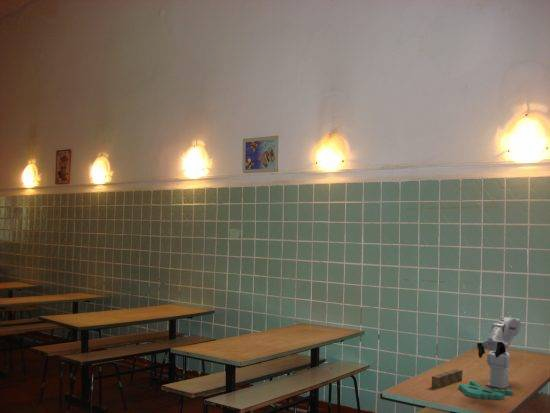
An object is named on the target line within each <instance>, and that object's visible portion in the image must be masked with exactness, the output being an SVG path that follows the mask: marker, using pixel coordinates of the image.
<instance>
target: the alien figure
mask: <svg viewBox="0 0 550 413" xmlns="http://www.w3.org/2000/svg"><path fill="white" fill-rule="evenodd" d="M458 390H460V391H461V392H462V393H463V394H464V395H465V396H468V397H471V398H475V399H479V400H480V399H485V400H488V399H490V400H498V401H499V400H503V399H505V398H506V397H505V396H506V395H509V396H512V395H513V394H514V392H513V391H514V390H511V389H509V388H508V389H504V388H502V389H501V388H497V389H496V388H493V389H491V388H488V387H484V386H482V385H481V384H479V383H478V382H477V381H475V380H472V379H471V380H469V384H466V383H461V384H459V385H458Z"/></svg>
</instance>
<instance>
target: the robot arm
mask: <svg viewBox="0 0 550 413" xmlns="http://www.w3.org/2000/svg"><path fill="white" fill-rule="evenodd" d="M521 322H522V321H521V319H520V318H519V317H518V318H517V317H516V318H515V317H507V316H506V317H505V316H500V317H499V320H498V321H497V322H494V323H491V325H490V329H489V330H490V331H489V332H490V333H489V336H488V337H487V339H486V340H484V341H481V342H477V343H476V345H475V347H476V348H475V349H476V350H478V354H477V355H478V357H479V359H482V357H483V355H484V354H486V351H485V350H487V351H489V352H488V353H487V356H486V363H487V365H488V366H489V382H487V383H486V384H485V385H486V386H489V387H493V388H497V389H504V388H507V387H510V386H511V384H510V383H509V377H510V376H509V375H510V374H509V370H508V368H509V367H510V363H511V353H509V352H508V351H509V350H510V349H509V348H510V346H511V344H512V342H513V340H514V337H517V336H518V335H519V333H520V331H521V326H522V324H521Z"/></svg>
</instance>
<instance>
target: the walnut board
mask: <svg viewBox="0 0 550 413" xmlns="http://www.w3.org/2000/svg"><path fill="white" fill-rule="evenodd" d="M461 381H463V369H460V368H456V369H451V370H450V371H445V372H442V373H438V374H435V375H432V376H431V388H434V389H440V388H443V387H446V386H449V385H451V384H456V383H458V382H461Z"/></svg>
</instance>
